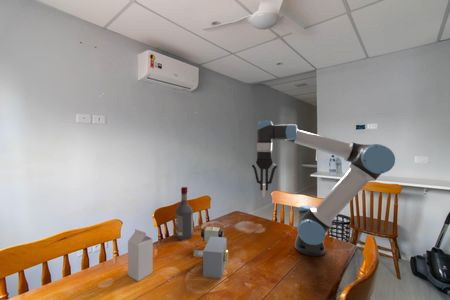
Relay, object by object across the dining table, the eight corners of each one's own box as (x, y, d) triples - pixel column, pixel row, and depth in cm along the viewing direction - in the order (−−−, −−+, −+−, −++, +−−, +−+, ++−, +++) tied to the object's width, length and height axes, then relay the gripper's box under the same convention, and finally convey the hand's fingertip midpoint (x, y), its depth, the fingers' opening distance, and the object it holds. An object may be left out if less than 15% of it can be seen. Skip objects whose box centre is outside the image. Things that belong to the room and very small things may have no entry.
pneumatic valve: (222, 252, 108) (222, 229, 108) (200, 249, 110) (200, 227, 110) (224, 247, 113) (224, 225, 113) (203, 244, 116) (203, 223, 115)
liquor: (188, 232, 132) (188, 185, 131) (194, 237, 124) (194, 188, 123) (174, 235, 127) (174, 187, 126) (179, 241, 119) (179, 189, 119)
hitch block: (226, 260, 101) (226, 237, 100) (221, 278, 87) (221, 252, 86) (210, 258, 102) (210, 236, 101) (203, 276, 88) (203, 250, 88)
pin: (228, 258, 96) (228, 247, 96) (227, 264, 91) (227, 253, 91) (195, 255, 98) (195, 245, 98) (192, 260, 93) (192, 250, 93)
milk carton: (138, 282, 84) (138, 235, 84) (127, 276, 88) (127, 231, 87) (152, 272, 90) (152, 229, 90) (142, 267, 94) (142, 226, 93)
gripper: (276, 151, 109) (276, 195, 110) (251, 150, 111) (251, 194, 112) (278, 151, 102) (277, 199, 102) (251, 151, 104) (251, 198, 104)
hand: (263, 196), depth 107 cm, fingers closed
